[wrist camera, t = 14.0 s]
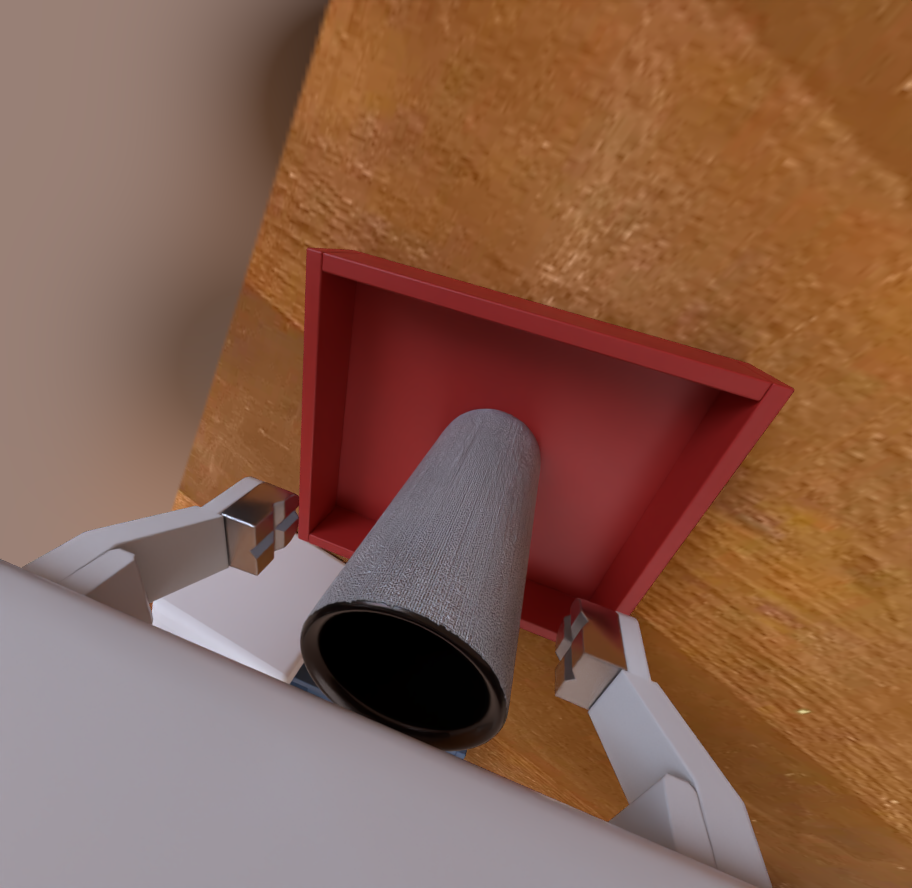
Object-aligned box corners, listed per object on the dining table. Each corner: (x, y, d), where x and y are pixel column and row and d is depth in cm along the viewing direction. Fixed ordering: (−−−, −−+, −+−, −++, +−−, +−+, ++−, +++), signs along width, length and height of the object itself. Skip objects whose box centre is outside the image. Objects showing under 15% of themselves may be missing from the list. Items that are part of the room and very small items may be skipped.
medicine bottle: (242, 573, 26) (29, 777, 16) (262, 508, 23) (5, 716, 12) (327, 626, 26) (171, 864, 16) (361, 570, 23) (187, 829, 12)
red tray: (330, 504, 21) (297, 538, 18) (352, 249, 15) (305, 246, 12) (593, 605, 19) (597, 659, 17) (749, 363, 13) (796, 389, 10)
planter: (557, 427, 15) (542, 668, 6) (521, 511, 17) (472, 780, 8) (452, 393, 16) (298, 568, 7) (431, 479, 18) (294, 697, 9)
